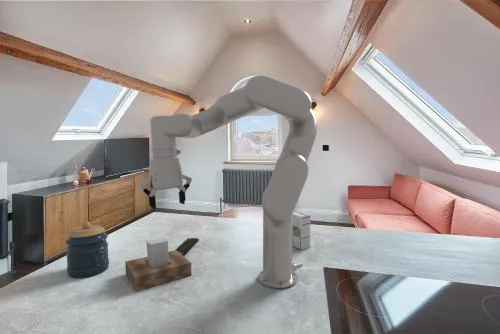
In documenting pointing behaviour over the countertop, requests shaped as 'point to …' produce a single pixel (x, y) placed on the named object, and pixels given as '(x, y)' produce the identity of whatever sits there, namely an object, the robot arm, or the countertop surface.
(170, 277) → the frame
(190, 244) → the remote control
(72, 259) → the canister
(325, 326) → the countertop surface
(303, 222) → the syrup box
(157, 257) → the skincare box
